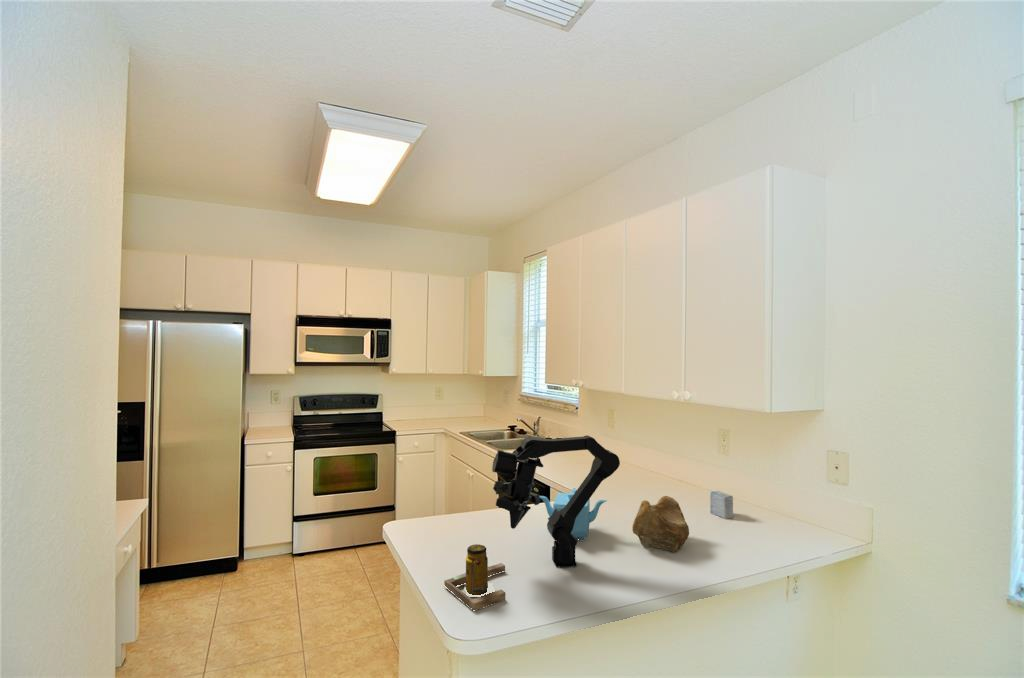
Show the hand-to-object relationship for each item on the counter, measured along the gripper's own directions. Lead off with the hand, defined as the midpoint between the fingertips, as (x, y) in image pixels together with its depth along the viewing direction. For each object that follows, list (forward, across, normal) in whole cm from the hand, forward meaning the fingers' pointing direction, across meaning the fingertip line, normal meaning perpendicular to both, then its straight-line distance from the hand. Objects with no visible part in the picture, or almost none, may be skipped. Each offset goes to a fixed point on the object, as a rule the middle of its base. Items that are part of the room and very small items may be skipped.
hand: (512, 528), depth 155 cm
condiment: (+14, +16, +2) cm, 21 cm away
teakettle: (+6, -36, +7) cm, 37 cm away
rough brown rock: (-1, -41, +38) cm, 56 cm away
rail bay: (+13, +14, +3) cm, 20 cm away
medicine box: (-9, -83, +50) cm, 97 cm away
